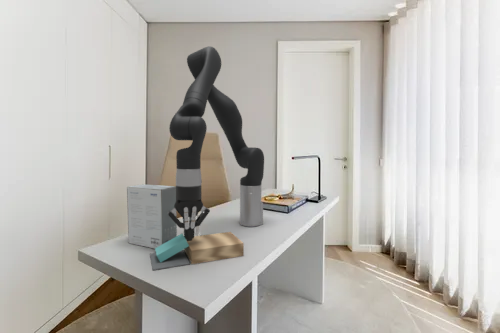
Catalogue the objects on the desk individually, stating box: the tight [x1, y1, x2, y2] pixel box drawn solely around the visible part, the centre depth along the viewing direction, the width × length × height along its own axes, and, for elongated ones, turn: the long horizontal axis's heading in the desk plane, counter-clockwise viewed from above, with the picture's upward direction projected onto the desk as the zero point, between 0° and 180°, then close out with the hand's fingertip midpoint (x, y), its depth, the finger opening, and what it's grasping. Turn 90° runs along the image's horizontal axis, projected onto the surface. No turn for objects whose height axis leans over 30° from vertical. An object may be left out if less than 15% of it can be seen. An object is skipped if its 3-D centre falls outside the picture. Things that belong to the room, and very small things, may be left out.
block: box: [154, 233, 189, 263], centre depth 82 cm, size 9×6×2 cm, turn 112°
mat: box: [149, 249, 191, 271], centre depth 81 cm, size 10×12×1 cm
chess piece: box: [194, 213, 201, 236], centre depth 97 cm, size 5×5×10 cm
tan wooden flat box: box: [183, 231, 245, 265], centre depth 87 cm, size 16×12×4 cm
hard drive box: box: [126, 183, 178, 250], centre depth 94 cm, size 16×8×20 cm, turn 66°
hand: (189, 240), depth 83 cm, fingers closed
